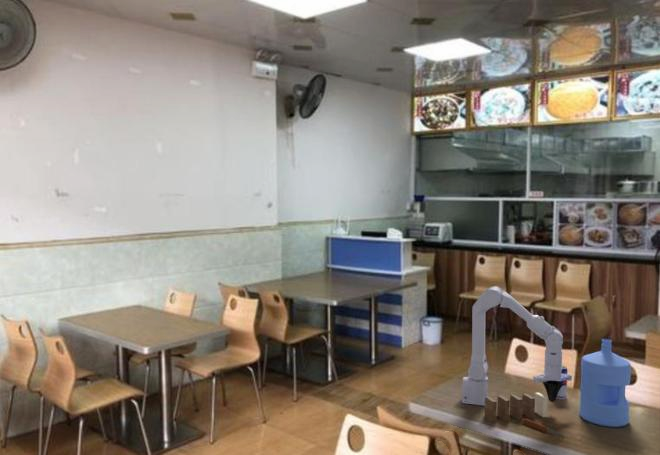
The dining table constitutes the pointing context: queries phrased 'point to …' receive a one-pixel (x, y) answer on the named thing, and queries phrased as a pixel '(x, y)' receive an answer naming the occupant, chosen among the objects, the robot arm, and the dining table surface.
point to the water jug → (604, 387)
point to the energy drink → (563, 391)
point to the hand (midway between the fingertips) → (551, 401)
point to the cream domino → (541, 404)
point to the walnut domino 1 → (490, 409)
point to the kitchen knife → (540, 427)
